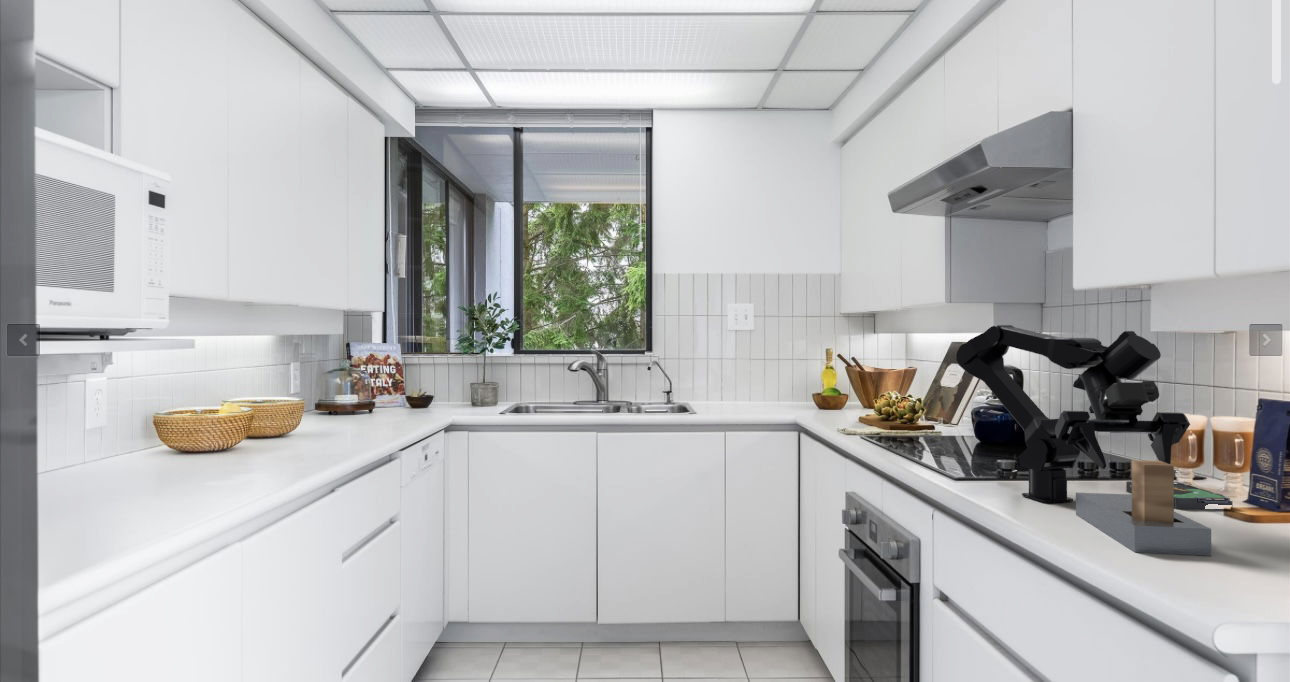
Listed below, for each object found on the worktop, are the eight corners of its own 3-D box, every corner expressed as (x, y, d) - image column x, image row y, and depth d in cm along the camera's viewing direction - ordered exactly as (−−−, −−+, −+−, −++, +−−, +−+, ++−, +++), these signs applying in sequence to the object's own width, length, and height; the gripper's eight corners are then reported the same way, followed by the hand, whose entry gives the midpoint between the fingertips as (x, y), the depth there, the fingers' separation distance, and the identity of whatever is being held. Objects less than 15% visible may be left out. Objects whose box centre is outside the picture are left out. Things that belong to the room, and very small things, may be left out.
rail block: (1075, 514, 125) (1075, 492, 125) (1138, 517, 123) (1138, 494, 123) (1134, 552, 104) (1134, 525, 104) (1211, 556, 102) (1211, 528, 102)
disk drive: (1124, 494, 143) (1176, 512, 128) (1124, 481, 143) (1176, 496, 128) (1176, 494, 143) (1234, 512, 128) (1176, 481, 143) (1234, 496, 128)
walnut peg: (1131, 538, 111) (1131, 460, 111) (1160, 539, 110) (1159, 460, 110) (1144, 545, 107) (1144, 464, 107) (1173, 546, 106) (1173, 465, 106)
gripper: (1060, 364, 120) (1086, 437, 109) (1184, 364, 116) (1223, 440, 105) (1045, 404, 128) (1067, 476, 117) (1160, 406, 124) (1194, 481, 113)
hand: (1135, 468), depth 113 cm, fingers open, 9 cm apart
